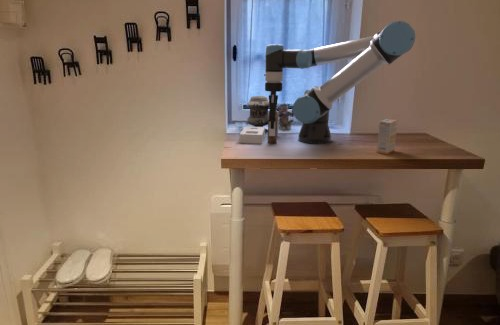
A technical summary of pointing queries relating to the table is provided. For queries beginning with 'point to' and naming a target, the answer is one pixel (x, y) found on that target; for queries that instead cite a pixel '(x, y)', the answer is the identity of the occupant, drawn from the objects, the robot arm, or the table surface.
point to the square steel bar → (277, 123)
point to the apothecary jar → (258, 111)
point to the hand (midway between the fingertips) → (272, 134)
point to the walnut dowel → (274, 138)
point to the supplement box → (386, 136)
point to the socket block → (252, 135)
